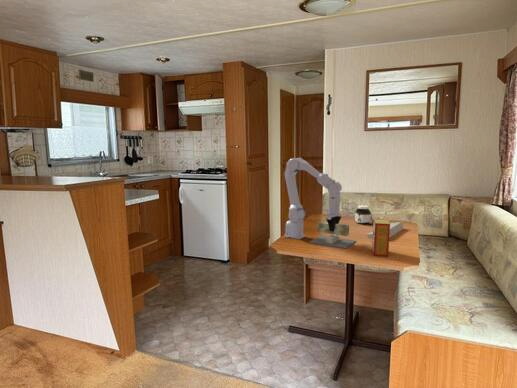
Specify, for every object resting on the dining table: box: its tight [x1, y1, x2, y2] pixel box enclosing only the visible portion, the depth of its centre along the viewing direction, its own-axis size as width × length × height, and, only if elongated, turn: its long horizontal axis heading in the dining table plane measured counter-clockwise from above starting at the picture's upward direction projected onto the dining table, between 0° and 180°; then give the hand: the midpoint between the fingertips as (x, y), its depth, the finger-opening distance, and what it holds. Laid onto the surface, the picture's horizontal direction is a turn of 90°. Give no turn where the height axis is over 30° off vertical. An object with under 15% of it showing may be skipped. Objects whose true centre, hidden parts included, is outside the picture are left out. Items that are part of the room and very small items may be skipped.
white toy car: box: [354, 204, 376, 226], centre depth 240 cm, size 12×11×12 cm
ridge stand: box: [309, 234, 357, 250], centre depth 195 cm, size 20×16×4 cm
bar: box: [317, 221, 350, 237], centre depth 194 cm, size 16×4×5 cm, turn 58°
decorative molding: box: [366, 221, 404, 239], centre depth 216 cm, size 34×5×10 cm
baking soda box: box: [371, 218, 390, 257], centre depth 176 cm, size 10×6×16 cm
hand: (333, 230), depth 195 cm, fingers closed on bar, 4 cm apart
